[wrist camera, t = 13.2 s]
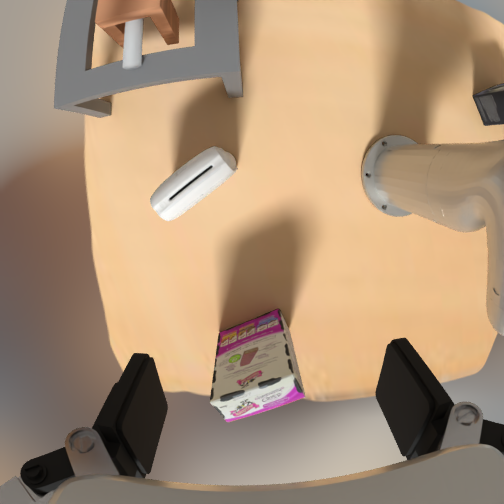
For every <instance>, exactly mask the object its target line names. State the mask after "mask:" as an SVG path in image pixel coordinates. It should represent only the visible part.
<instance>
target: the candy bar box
mask: <svg viewBox="0 0 504 504" xmlns="http://www.w3.org/2000/svg"><path fill="white" fill-rule="evenodd" d="M302 398H305V392H304V388H303V384H302V380H301V376H300V372H299V367H298V363H297V359H296V355H295V351H294V347H293V343H292V338H291V334H290V331H289V328H288V326H287V324H286V322H285V320H284V318H283V316H282V313H281V311H280V309H276V310H274V311H272V312H269V313H267V314H265V315H262V316H260V317H257V318H255V319H253V320H250V321H248V322H245V323H243V324H240V325H238V326H235V327H233V328H230V329H228V330H225V331H223V332H220V333H219V336H218V343H217V351H216V358H215V367H214V373H213V381H212V390H211V397H210V403H211V404H212V405H213V406H214V408H215V409H216V410H217V411H218V412H219V413H220V414H221V415H223V418H224V419H225V420H226V421H227V422H231V421H235V420H238V419H242V418H245V417H248V416H251V415H255V414H258V413H261V412H264V411H268V410H270V409H274V408H277V407H280V406H282V405H285V404H288V403H291V402H294V401H297V400H299V399H302Z"/></svg>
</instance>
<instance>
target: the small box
mask: <svg viewBox="0 0 504 504" xmlns="http://www.w3.org/2000/svg"><path fill="white" fill-rule="evenodd" d="M473 99H474V101H475V103H476V106H477V108H478V111H479V113H480V116H481V118H482V121H483V124H484V125H485V126H488V125H500V124H504V83H503V84H499V85H496V86H494V87H491V88H489V89H486V90H484V91H482V92H480V93H477V94H475V95H473Z"/></svg>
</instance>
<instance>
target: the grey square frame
mask: <svg viewBox="0 0 504 504" xmlns="http://www.w3.org/2000/svg"><path fill="white" fill-rule="evenodd" d="M237 2H238V0H195V46H193V47H186V48H179V49H173V50H167V51H162V52H156V53H151V54H147V55H142V37H143V21H144V18H141V19H137V20H132V21H128V22H125V33H124V48H123V60H121V61H117V62H114V63H110V64H107V65H103V66H100V67H97V68H93V69H91V65H92V51H93V41H94V32H95V24H96V23H95V18H96V11H97V5H98V0H67V3H66V8H65V12H64V17H63V23H62V29H61V35H60V42H59V49H58V57H57V67H56V68H57V69H56V79H55V97H54V108H56V109H61V110H66V111H71V112H76V113H81V114H85V115H90V116H95V117H99V118H101V117H105V116H110V115H111V103H109V102H107V101H104V100H101V99H98V98H101V97H104V96H108V95H112V94H116V93H121V92H125V91H129V90H134V89H139V88H144V87H149V86H154V85H160V84H166V83H172V82H179V81H186V80H194V79H203V78H212V77H222V80H223V83H224V86H225V89H226V92H227V95H228V97H229V98H233V97H243V88H242V76H241V66H240V53H239V32H238V11H237Z"/></svg>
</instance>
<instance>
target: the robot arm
mask: <svg viewBox="0 0 504 504" xmlns="http://www.w3.org/2000/svg"><path fill="white" fill-rule="evenodd" d="M382 142H383V145H382ZM366 173H367V174H368V175H367V176H366ZM361 177H362V184H363V188H364V191H365V193H366V195H367V197H368V199H369V200H370V202H371V203H372V204H373V205H374V206H375V207H376V208H377V209H378V210H380V211H381V212H383V213H385V214H388V215H390V216H395V217H403V216H407V215H410V214H412V213H413V214H416V215H418V216H421V217H423V218H426V219H428V220H431V221H433V222H436V223H438V224H440V225H443V226H445V227H448V228H450V229H453V230H455V231H458V232H465V233H467V232H474V231H477V230H480V229H482V228H484V227H485V226H486V232H487V248H488V274H487V295H486V307H487V315H488V318H489V321H490V323H491V325H492V326H493V328H494V329H495V330H496V331H497V332H498V333H499V334H501V335H502V336H504V140H499V141H493V142H485V143H453V144H418V143H416V142H415V141H414V140H412V139H410V138H408V137H406V136H401V135H391V136H386V137H383V138H381V139H379V140H378V141H376V142H375V143H374V144H373V145H372V146H371V147H370V148H369V150H368V151H367V153H366V155H365V158H364V160H363V164H362V174H361ZM382 205H383V208H382ZM376 399H377V401H378V403H379V405H380V407H381V409H382V412H383V414H384V416H385V418H386V420H387V422H388V425H389V427H390V429H391V432H392V433H393V436H394V438H395V440H396V443H397V445H398V447H399V449H400V452H401V454H402V456H406V458H407V460H406V461H403V462H399V463H396V464H392V465H389V466H385V467H381V468H377V469H373V470H369V471H364V472H360V473H355V474H350V475H345V476H339V477H334V478H328V479H321V480H314V481H307V482H297V483H286V484H272V485H247V486H227V485H226V486H225V485H201V484H188V483H177V482H167V481H159V480H152V479H145V476H146V474H149V473H150V472H151V468H152V464H153V461H154V457H155V453H156V449H157V446H158V442H159V439H160V435H161V431H162V428H163V424H164V421H165V417H166V414H167V409H168V406H167V401H166V398H165V395H164V392H163V389H162V386H161V383H160V379H159V376H158V373H157V369H156V366H155V362H154V359H153V358H152V357H149V355H148V354H143V353H134V354H133V355H132V357H131V359H130V361H129V363H128V364H127V366H126V368H125V370H124V372H123V374H122V376H121V378H120V380H119V382H117V383H115V385H114V386H113V388H112V390H111V392H110V394H109V395H108V397H107V399H106V401H105V403H104V405H103V407H102V409H101V411H100V413H99V415H98V417H97V419H96V421H95V423H94V425H93V427H92V428H89V427H81V428H76V429H74V430H72V431H71V432H70V433H69V434H68V435H67V437H66V439H65V447H63V448H61V449H58V450H56V451H53V452H51V453H48V454H45V455H42V456H40V457H37V458H34V459H31V460H29V461H27V462H26V463H25V464H24V465H23V467H22V468H21V473H20V474H21V476H20V477H19V478H17V477H16V476H15V477H13V478H12V479H10V480H9V481H7V482H6V483H5V484H3V485H2V486H0V504H504V425H503V424H499V423H495V422H491V421H488V420H484V419H483V413H482V411H481V409H480V408H479V407H478V406H477V405H475V404H473V403H471V402H460V403H457V404H456V405H454V403H453V402H452V400H451V398H450V397H449V396H448V394H447V393H446V392H445V390H444V389H443V387H442V386H441V384H440V383H439V381H438V380H437V379H436V377H435V376H434V375H433V373H432V372H431V370H430V369H429V368H428V366H427V365H426V364H425V362H424V361H423V360H422V358H421V357H420V356H419V354H418V353H417V352H416V350H415V349H414V348H413V346H412V345H411V344H410V343H409V341H408V340H407V339H406V338H400V339H394V340H392V341H391V343H390V344H388V345H387V348H386V353H385V357H384V361H383V365H382V369H381V373H380V377H379V381H378V385H377V388H376Z"/></svg>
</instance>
